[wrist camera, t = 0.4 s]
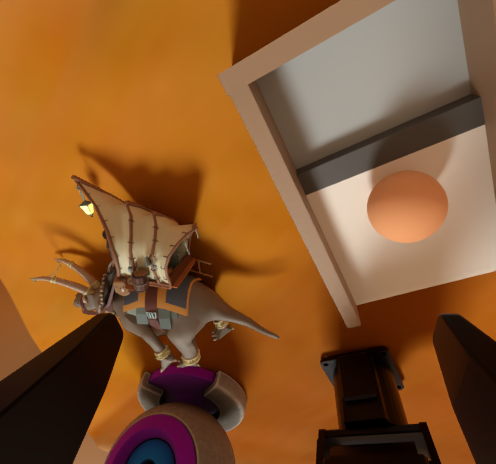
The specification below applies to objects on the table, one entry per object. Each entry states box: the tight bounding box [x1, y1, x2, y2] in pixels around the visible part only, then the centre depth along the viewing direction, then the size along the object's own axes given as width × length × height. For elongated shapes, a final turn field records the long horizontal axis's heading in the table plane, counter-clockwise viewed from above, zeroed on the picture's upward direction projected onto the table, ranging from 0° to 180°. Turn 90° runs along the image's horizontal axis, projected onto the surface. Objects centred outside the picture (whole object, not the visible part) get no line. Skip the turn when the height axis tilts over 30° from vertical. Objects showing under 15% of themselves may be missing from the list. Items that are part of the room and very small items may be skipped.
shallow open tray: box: [217, 0, 496, 328], centre depth 18 cm, size 19×12×4 cm, turn 28°
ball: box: [367, 170, 448, 243], centre depth 17 cm, size 4×4×4 cm
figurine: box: [31, 175, 279, 373], centre depth 24 cm, size 20×6×17 cm
